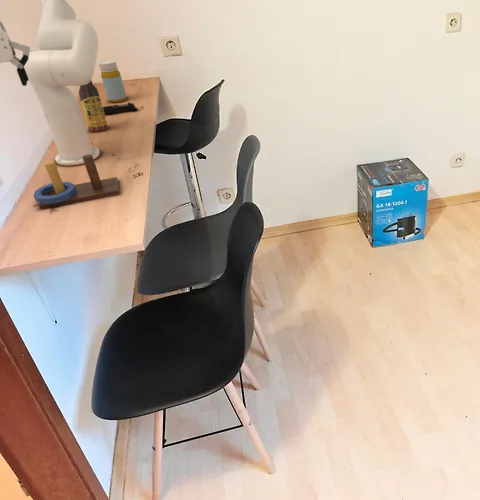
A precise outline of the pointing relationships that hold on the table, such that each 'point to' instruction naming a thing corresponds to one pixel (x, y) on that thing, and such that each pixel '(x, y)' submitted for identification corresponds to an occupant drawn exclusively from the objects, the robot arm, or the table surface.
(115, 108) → the electric trimmer
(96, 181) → the rack
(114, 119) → the table surface
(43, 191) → the ring
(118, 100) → the bottle
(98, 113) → the sauce bottle
